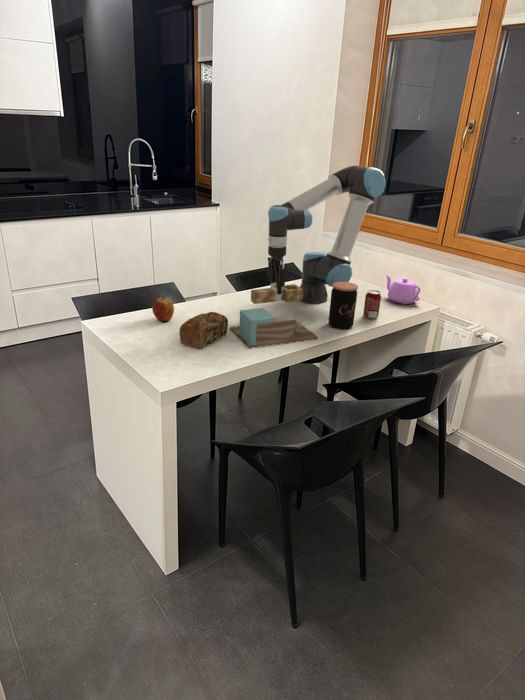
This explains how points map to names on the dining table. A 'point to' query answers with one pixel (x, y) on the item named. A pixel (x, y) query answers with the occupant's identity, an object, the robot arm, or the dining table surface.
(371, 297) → the soda can
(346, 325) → the coffee jar
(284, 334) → the pintle board
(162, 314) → the apple
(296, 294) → the wooden square socket bar
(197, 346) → the bread
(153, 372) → the dining table surface
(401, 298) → the teapot
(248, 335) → the block
